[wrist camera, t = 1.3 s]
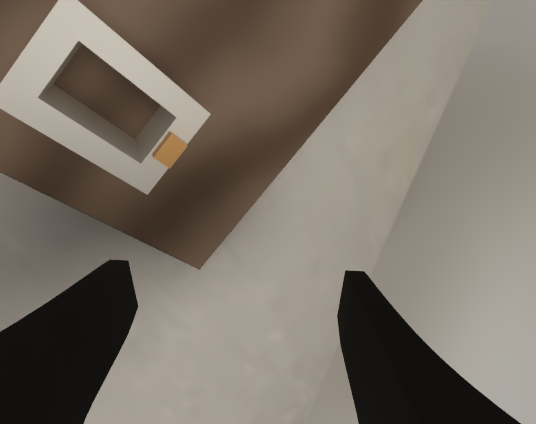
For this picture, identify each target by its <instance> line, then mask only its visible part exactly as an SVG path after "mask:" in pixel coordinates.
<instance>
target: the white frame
mask: <svg viewBox="0 0 536 424" xmlns="http://www.w3.org/2000/svg"><path fill="white" fill-rule="evenodd" d="M82 44H84V45H85V46H86V47H87V48H89V49H90V50H91V51H93V52H94V53H95V54H96V55H98V56H99V57H100V58H101V59H103V60H104V61H105V62H107V63H108V64H109V65H110V66H112V67H113V68H114V69H115V70H117V71H118V72H119V73H121V74H122V75H123V76H124V77H126V78H127V79H128V80H129V81H131V82H132V83H133V84H135V85H136V86H137V87H138V88H140V89H141V90H142V91H143V92H145V93H146V94H147V95H149V96H150V97H151V98H152V99H154V100H155V101H156V102H157V103H159V104H160V105H161V106H160V107H159V108H158V110H157V111H156V112H155V114H154V115H153V116H152V117H151V119H150V120H149V121H148V123H147V124H146V125H145V127H144V128H143V129H142V131H141V132H140V133H139V135H138V136H137V137H136V138H135V139H134V138H132V137H131V136H129V135H128V134H126V133H125V132H123V131H122V130H120V129H119V128H117V127H116V126H115V125H113V124H112V123H110V122H109V121H107V120H106V119H104V118H103V117H101V116H100V115H98V114H97V113H95V112H94V111H92V110H91V109H90V108H88V107H87V106H85V105H84V104H82V103H81V102H79V101H78V100H76V99H75V98H73V97H72V96H70V95H69V94H67V93H66V92H65V91H63V90H62V89H60V88H59V87H57V86H56V85H54V83H55V81H56V80H57V79H58V77H59V76H60V75H61V73H62V72H63V70H64V69H65V68H66V66H67V65H68V63H69V62H70V61H71V59H72V58H73V56H74V55H75V54H76V52H77V51H78V49H79V48H80V47H81V45H82ZM0 109H2V110H3V111H5V112H7V113H9V114H10V115H12V116H14V117H15V118H17V119H19V120H21V121H22V122H24V123H26V124H27V125H29V126H31V127H32V128H34V129H36V130H38V131H39V132H41V133H43V134H44V135H46V136H48V137H50V138H51V139H53V140H55V141H56V142H58V143H60V144H61V145H63V146H65V147H67V148H68V149H70V150H72V151H73V152H75V153H77V154H79V155H80V156H82V157H84V158H85V159H87V160H89V161H90V162H92V163H94V164H96V165H97V166H99V167H101V168H102V169H104V170H106V171H108V172H109V173H111V174H113V175H114V176H116V177H118V178H119V179H121V180H123V181H125V182H126V183H128V184H130V185H131V186H133V187H135V188H137V189H138V190H140V191H142V192H143V193H145V194H147V195H148V194H149V192H150V191H151V190H152V189H153V187H154V186H155V185H156V183H157V182H158V181H159V180H160V178H161V177H162V176H163V175H164V173H165V172H166V171H167V169H168V168H171V167H172V165H173V164H174V163H175V162H176V160H177V159H178V158H179V156H180V155H181V154H182V153H183V151H184V150H185V149H186V148H187V146H188V145H187V144H188V143H189V141H190V140H191V139H192V138H193V136H194V135H195V134H196V133H197V131H198V130H199V129H200V127H201V126H202V125H203V124H204V122H205V121H206V120H207V119H208V117H209V116H210V115H211V114H210V113H209V112H208V111H207V110H206V109H204V108H203V107H202V106H201V105H200V104H199V103H197V102H196V101H195V100H194V99H193V98H192V97H190V96H189V95H188V94H187V93H186V92H184V91H183V90H182V89H181V88H180V87H179V86H177V85H176V84H175V83H174V82H173V81H172V80H170V79H169V78H168V77H167V76H166V75H165V74H163V73H162V72H161V71H160V70H159V69H158V68H156V67H155V66H154V65H153V64H152V63H151V62H149V61H148V60H147V59H146V58H145V57H144V56H142V55H141V54H140V53H139V52H138V51H136V50H135V49H134V48H133V47H132V46H131V45H129V44H128V43H127V42H126V41H125V40H124V39H122V38H121V37H120V36H119V35H118V34H117V33H115V32H114V31H113V30H112V29H111V28H110V27H108V26H107V25H106V24H105V23H104V22H103V21H101V20H100V19H99V18H98V17H97V16H96V15H94V14H93V13H92V12H91V11H90V10H89V9H87V8H86V7H85V6H84V5H83V4H81V3H80V2H79V1H78V0H58V1H57V3H56V4H55V6H54V7H53V9H52V10H51V11H50V13H49V14H48V16H47V17H46V19H45V20H44V21H43V23H42V24H41V26H40V27H39V29H38V30H37V31H36V33H35V34H34V36H33V37H32V39H31V40H30V41H29V43H28V44H27V46H26V47H25V49H24V50H23V52H22V53H21V54H20V56H19V57H18V59H17V60H16V62H15V63H14V64H13V66H12V67H11V69H10V70H9V72H8V73H7V74H6V76H5V77H4V79H3V80H2V82H1V83H0Z"/></svg>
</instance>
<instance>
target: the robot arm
mask: <svg viewBox="0 0 536 424" xmlns="http://www.w3.org/2000/svg"><path fill="white" fill-rule="evenodd" d="M137 308H138V303H137V299H136V294H135V290H134V285H133V281H132V276H131V272H130V267H129V263H128V261H124V260H109V261H107V262H106V263H104V264H103V265H101V266H100V267H98V268H97V269H95V270H94V271H92V272H91V273H89V274H88V275H87V276H85V277H84V278H82V279H81V280H79V281H78V282H77V283H75V284H74V285H72V286H71V287H69V288H68V289H66V290H65V291H64V292H62V293H61V294H59V295H58V296H56V297H55V298H53V299H52V300H50V301H49V302H47V303H46V304H44V305H43V306H41V307H39V308H38V309H36V310H35V311H33V312H32V313H30V314H28V315H27V316H25V317H24V318H22V319H21V320H19V321H18V322H16V323H14V324H13V325H11V326H9V327H8V328H6V329H4V330H2V331H1V332H0V424H83V423H84V421H85V418H86V416H87V414H88V412H89V410H90V407H91V405H92V403H93V401H94V399H95V397H96V395H97V393H98V391H99V390H100V388H101V386H102V384H103V382H104V380H105V378H106V376H107V374H108V372H109V370H110V369H111V367H112V365H113V363H114V361H115V359H116V357H117V355H118V353H119V351H120V349H121V347H122V345H123V343H124V341H125V339H126V337H127V335H128V333H129V330H130V328H131V325H132V323H133V320H134V317H135V314H136V311H137ZM337 317H338V326H339V335H340V343H341V349H342V353H343V357H344V362H345V366H346V370H347V374H348V379H349V383H350V387H351V391H352V396H353V400H354V404H355V408H356V412H357V417H358V422H359V424H521V423H519V422H518V421H516V420H515V419H514V418H512V417H511V416H510V415H508V414H507V413H506V412H505V411H503V410H502V409H501V408H499V407H498V406H497V405H495V404H494V403H493V402H492V401H490V400H489V399H488V398H487V397H485V396H484V395H483V394H482V393H481V392H479V391H478V390H477V389H475V388H474V387H473V386H472V385H471V384H470V383H468V382H467V381H466V380H465V379H464V378H462V377H461V376H460V375H459V374H458V373H457V372H456V371H455V370H453V369H452V368H451V367H450V366H449V365H448V364H447V363H445V361H444V360H442V359H441V358H440V357H439V356H438V355H437V354H436V353H435V352H434V351H433V350H432V349H431V348H430V347H429V346H428V345H427V344H426V343H425V342H424V341H423V340H422V339H421V338H420V337H419V336H418V335H417V334H416V333H415V332H414V330H413V329H412V328H411V327H410V326H409V325H408V324H407V323H406V322H405V320H404V319H403V318H402V317H401V316H400V315H399V313H398V312H397V311H396V310H395V309H394V308H393V306H392V305H391V304H390V303H389V302H388V300H387V299H386V298H385V297H384V296H383V294H382V293H381V292H380V291H379V289H378V288H377V287H376V286H375V284H374V283H373V282H372V280H371V279H370V278H369V277H368V275H367V274H366V273H365V272H364V271H345V275H344V281H343V287H342V293H341V298H340V304H339V310H338V315H337Z"/></svg>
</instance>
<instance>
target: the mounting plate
mask: <svg viewBox="0 0 536 424" xmlns="http://www.w3.org/2000/svg"><path fill="white" fill-rule="evenodd" d="M57 1H58V0H0V83H1V82H2V80H3V79H4V77H5V76H6V74H7V73H8V72H9V70H10V69H11V67H12V66H13V64H14V63H15V62H16V60H17V59H18V57H19V56H20V54H21V53H22V52H23V50H24V49H25V47H26V46H27V44H28V43H29V41H30V40H31V39H32V37H33V36H34V34H35V33H36V31H37V30H38V29H39V27H40V26H41V24H42V23H43V21H44V20H45V19H46V17H47V16H48V14H49V13H50V11H51V10H52V9H53V7H54V6H55V4H56V3H57ZM78 1H79V2H80V3H81V4H83V5H84V6H85V7H86V8H87V9H89V10H90V11H91V12H92V13H93V14H94V15H96V16H97V17H98V18H99V19H100V20H101V21H103V22H104V23H105V24H106V25H107V26H108V27H110V28H111V29H112V30H113V31H114V32H115V33H117V34H118V35H119V36H120V37H121V38H122V39H124V40H125V41H126V42H127V43H128V44H129V45H131V46H132V47H133V48H134V49H135V50H136V51H138V52H139V53H140V54H141V55H142V56H144V57H145V58H146V59H147V60H148V61H149V62H151V63H152V64H153V65H154V66H155V67H156V68H158V69H159V70H160V71H161V72H162V73H163V74H165V75H166V76H167V77H168V78H169V79H170V80H172V81H173V82H174V83H175V84H176V85H177V86H179V87H180V88H181V89H182V90H183V91H184V92H186V93H187V94H188V95H189V96H190V97H192V98H193V99H194V100H195V101H196V102H197V103H199V104H200V105H201V106H202V107H203V108H204V109H206V110H207V111H208V112H209V113H210V114H211V115H210V116H209V117H208V119H207V120H206V121H205V122H204V124H203V125H202V126H201V127H200V129H199V130H198V131H197V133H196V134H195V135H194V136H193V138H192V139H191V140H190V141H189V143H188V144H187V145H188V146H187V148H186V149H185V150H184V151H183V153H182V154H181V155H180V156H179V158H178V159H177V160H176V162H175V163H174V164H173V165H172V167H171V168H168V169H167V171H166V172H165V173H164V175H163V176H162V177H161V178H160V180H159V181H158V182H157V183H156V185H155V186H154V187H153V189H152V190H151V191H150V192H149V194H148V195H147V194H145V193H143V192H142V191H140V190H138V189H137V188H135V187H133V186H131V185H130V184H128V183H126V182H125V181H123V180H121V179H119V178H118V177H116V176H114V175H113V174H111V173H109V172H108V171H106V170H104V169H102V168H101V167H99V166H97V165H96V164H94V163H92V162H90V161H89V160H87V159H85V158H84V157H82V156H80V155H79V154H77V153H75V152H73V151H72V150H70V149H68V148H67V147H65V146H63V145H61V144H60V143H58V142H56V141H55V140H53V139H51V138H50V137H48V136H46V135H44V134H43V133H41V132H39V131H38V130H36V129H34V128H32V127H31V126H29V125H27V124H26V123H24V122H22V121H21V120H19V119H17V118H15V117H14V116H12V115H10V114H9V113H7V112H5V111H3V110H2V109H0V173H3V174H5V175H7V176H9V177H11V178H13V179H15V180H17V181H19V182H21V183H23V184H25V185H27V186H29V187H31V188H33V189H35V190H37V191H39V192H41V193H43V194H46V195H48V196H50V197H52V198H54V199H56V200H58V201H60V202H62V203H64V204H66V205H68V206H70V207H72V208H74V209H76V210H78V211H80V212H82V213H84V214H87V215H89V216H91V217H93V218H95V219H97V220H99V221H101V222H103V223H105V224H107V225H109V226H111V227H113V228H115V229H117V230H119V231H121V232H123V233H125V234H127V235H130V236H132V237H134V238H136V239H138V240H140V241H142V242H144V243H146V244H148V245H150V246H152V247H154V248H156V249H158V250H160V251H162V252H164V253H166V254H168V255H170V256H173V257H175V258H177V259H179V260H181V261H183V262H185V263H187V264H189V265H191V266H193V267H195V268H197V269H200V268H201V267H202V266H203V265H204V263H205V262H206V261H207V260H208V259H209V257H210V256H211V255H212V254H213V253H214V251H215V250H216V249H217V248H218V247H219V245H220V244H221V243H222V242H223V241H224V239H225V238H226V237H227V236H228V234H229V233H230V232H231V231H232V230H233V228H234V227H235V226H236V225H237V224H238V222H239V221H240V220H241V219H242V218H243V216H244V215H245V214H246V213H247V212H248V210H249V209H250V208H251V207H252V206H253V204H254V203H255V202H256V201H257V199H258V198H259V197H260V196H261V195H262V193H263V192H264V191H265V190H266V189H267V187H268V186H269V185H270V184H271V183H272V181H273V180H274V179H275V178H276V177H277V175H278V174H279V173H280V172H281V170H282V169H283V168H284V167H285V166H286V164H287V163H288V162H289V161H290V160H291V158H292V157H293V156H294V155H295V154H296V152H297V151H298V150H299V149H300V148H301V146H302V145H303V144H304V143H305V142H306V140H307V139H308V138H309V137H310V135H311V134H312V133H313V132H314V131H315V129H316V128H317V127H318V126H319V125H320V123H321V122H322V121H323V120H324V119H325V117H326V116H327V115H328V114H329V113H330V111H331V110H332V109H333V108H334V107H335V105H336V104H337V103H338V102H339V100H340V99H341V98H342V97H343V96H344V94H345V93H346V92H347V91H348V90H349V88H350V87H351V86H352V85H353V84H354V82H355V81H356V80H357V79H358V78H359V76H360V75H361V74H362V73H363V72H364V70H365V69H366V68H367V67H368V65H369V64H370V63H371V62H372V61H373V59H374V58H375V57H376V56H377V55H378V53H379V52H380V51H381V50H382V49H383V47H384V46H385V45H386V44H387V43H388V41H389V40H390V39H391V38H392V37H393V35H394V34H395V33H396V32H397V30H398V29H399V28H400V27H401V26H402V24H403V23H404V22H405V21H406V20H407V18H408V17H409V16H410V15H411V14H412V12H413V11H414V10H415V9H416V8H417V6H418V5H419V4H420V3H421V2H422V0H78ZM54 85H56V86H57V87H59V88H60V89H62V90H63V91H65V92H66V93H67V94H69V95H70V96H72V97H73V98H75V99H76V100H78V101H79V102H81V103H82V104H84V105H85V106H87V107H88V108H90V109H91V110H92V111H94V112H95V113H97V114H98V115H100V116H101V117H103V118H104V119H106V120H107V121H109V122H110V123H112V124H113V125H115V126H116V127H117V128H119V129H120V130H122V131H123V132H125V133H126V134H128V135H129V136H131V137H132V138H134V139H135V138H136V137H137V136H138V135H139V133H140V132H141V131H142V129H143V128H144V127H145V125H146V124H147V123H148V121H149V120H150V119H151V117H152V116H153V115H154V114H155V112H156V111H157V110H158V108H159V107H160V106H161V105H160V104H159V103H157V102H156V101H155V100H154V99H152V98H151V97H150V96H149V95H147V94H146V93H145V92H143V91H142V90H141V89H140V88H138V87H137V86H136V85H135V84H133V83H132V82H131V81H129V80H128V79H127V78H126V77H124V76H123V75H122V74H121V73H119V72H118V71H117V70H115V69H114V68H113V67H112V66H110V65H109V64H108V63H107V62H105V61H104V60H103V59H101V58H100V57H99V56H98V55H96V54H95V53H94V52H93V51H91V50H90V49H89V48H87V47H86V46H85V45H84V44H82V45H81V47H80V48H79V49H78V51H77V52H76V54H75V55H74V56H73V58H72V59H71V61H70V62H69V63H68V65H67V66H66V68H65V69H64V70H63V72H62V73H61V75H60V76H59V77H58V79H57V80H56V81H55V83H54Z"/></svg>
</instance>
